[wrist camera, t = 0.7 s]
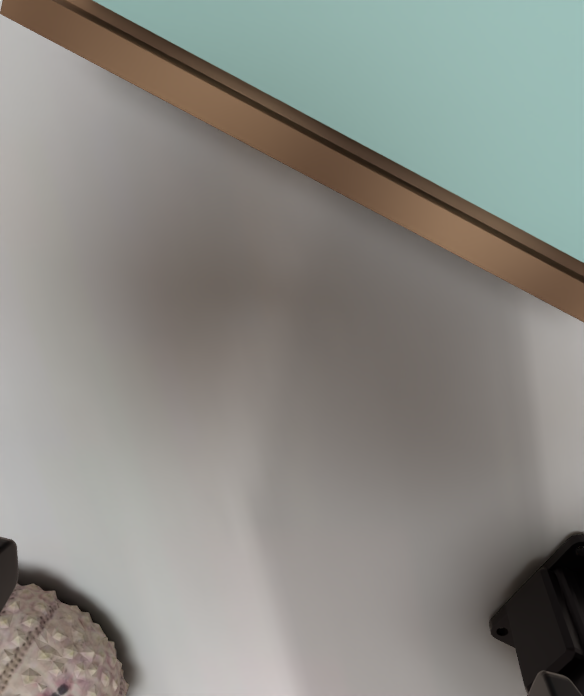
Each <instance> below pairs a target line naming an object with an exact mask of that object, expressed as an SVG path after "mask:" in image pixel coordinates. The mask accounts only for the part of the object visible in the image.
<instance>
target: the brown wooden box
mask: <svg viewBox="0 0 584 696" xmlns="http://www.w3.org/2000/svg"><path fill="white" fill-rule="evenodd" d="M0 14H2V15H3V16H5V17H7V18H9V19H11V20H13V21H15V22H17V23H19V24H20V25H22V26H24V27H26V28H28V29H30V30H32V31H34V32H36V33H37V34H39V35H41V36H43V37H45V38H47V39H49V40H51V41H53V42H55V43H56V44H58V45H60V46H62V47H64V48H66V49H68V50H70V51H72V52H73V53H75V54H77V55H79V56H81V57H83V58H85V59H87V60H89V61H90V62H92V63H94V64H96V65H98V66H100V67H102V68H104V69H106V70H107V71H109V72H111V73H113V74H115V75H117V76H119V77H121V78H123V79H125V80H126V81H128V82H130V83H132V84H134V85H136V86H138V87H140V88H142V89H143V90H145V91H147V92H149V93H151V94H153V95H155V96H157V97H159V98H160V99H162V100H164V101H166V102H168V103H170V104H172V105H174V106H176V107H177V108H179V109H181V110H183V111H185V112H187V113H189V114H191V115H193V116H195V117H196V118H198V119H200V120H202V121H204V122H206V123H208V124H210V125H212V126H213V127H215V128H217V129H219V130H221V131H223V132H225V133H227V134H229V135H230V136H232V137H234V138H236V139H238V140H240V141H242V142H244V143H246V144H247V145H249V146H251V147H253V148H255V149H257V150H259V151H261V152H263V153H265V154H266V155H268V156H270V157H272V158H274V159H276V160H278V161H280V162H282V163H283V164H285V165H287V166H289V167H291V168H293V169H295V170H297V171H299V172H300V173H302V174H304V175H306V176H308V177H310V178H312V179H314V180H316V181H318V182H319V183H321V184H323V185H325V186H327V187H329V188H331V189H333V190H335V191H336V192H338V193H340V194H342V195H344V196H346V197H348V198H350V199H352V200H353V201H355V202H357V203H359V204H361V205H363V206H365V207H367V208H369V209H370V210H372V211H374V212H376V213H378V214H380V215H382V216H384V217H386V218H388V219H389V220H391V221H393V222H395V223H397V224H399V225H401V226H403V227H405V228H406V229H408V230H410V231H412V232H414V233H416V234H418V235H420V236H422V237H423V238H425V239H427V240H429V241H431V242H433V243H435V244H437V245H439V246H440V247H442V248H444V249H446V250H448V251H450V252H452V253H454V254H456V255H458V256H459V257H461V258H463V259H465V260H467V261H469V262H471V263H473V264H475V265H476V266H478V267H480V268H482V269H484V270H486V271H488V272H490V273H492V274H493V275H495V276H497V277H499V278H501V279H503V280H505V281H507V282H509V283H510V284H512V285H514V286H516V287H518V288H520V289H522V290H524V291H526V292H528V293H529V294H531V295H533V296H535V297H537V298H539V299H541V300H543V301H545V302H546V303H548V304H550V305H552V306H554V307H556V308H558V309H560V310H562V311H563V312H565V313H567V314H569V315H571V316H573V317H575V318H577V319H579V320H580V321H582V322H584V263H583V262H581V261H579V260H577V259H576V258H574V257H572V256H570V255H568V254H566V253H564V252H562V251H561V250H559V249H557V248H555V247H553V246H551V245H549V244H548V243H546V242H544V241H542V240H540V239H538V238H536V237H534V236H533V235H531V234H529V233H527V232H525V231H523V230H521V229H519V228H518V227H516V226H514V225H512V224H510V223H508V222H506V221H504V220H503V219H501V218H499V217H497V216H495V215H493V214H491V213H489V212H488V211H486V210H484V209H482V208H480V207H478V206H476V205H475V204H473V203H471V202H469V201H467V200H465V199H463V198H461V197H460V196H458V195H456V194H454V193H452V192H450V191H448V190H446V189H445V188H443V187H441V186H439V185H437V184H435V183H433V182H431V181H430V180H428V179H426V178H424V177H422V176H420V175H418V174H417V173H415V172H413V171H411V170H409V169H407V168H405V167H403V166H402V165H400V164H398V163H396V162H394V161H392V160H390V159H388V158H387V157H385V156H383V155H381V154H379V153H377V152H375V151H373V150H372V149H370V148H368V147H366V146H364V145H362V144H360V143H359V142H357V141H355V140H353V139H351V138H349V137H347V136H345V135H344V134H342V133H340V132H338V131H336V130H334V129H332V128H330V127H329V126H327V125H325V124H323V123H321V122H319V121H317V120H315V119H314V118H312V117H310V116H308V115H306V114H304V113H302V112H301V111H299V110H297V109H295V108H293V107H291V106H289V105H287V104H286V103H284V102H282V101H280V100H278V99H276V98H274V97H272V96H271V95H269V94H267V93H265V92H263V91H261V90H259V89H257V88H256V87H254V86H252V85H250V84H248V83H246V82H244V81H242V80H241V79H239V78H237V77H235V76H233V75H231V74H229V73H228V72H226V71H224V70H222V69H220V68H218V67H216V66H214V65H213V64H211V63H209V62H207V61H205V60H203V59H201V58H199V57H198V56H196V55H194V54H192V53H190V52H188V51H186V50H184V49H183V48H181V47H179V46H177V45H175V44H173V43H171V42H170V41H168V40H166V39H164V38H162V37H160V36H158V35H156V34H155V33H153V32H151V31H149V30H147V29H145V28H143V27H141V26H140V25H138V24H136V23H134V22H132V21H130V20H128V19H126V18H125V17H123V16H121V15H119V14H117V13H115V12H113V11H112V10H110V9H108V8H106V7H104V6H102V5H100V4H98V3H97V2H95V1H93V0H3V2H2V6H1V11H0Z"/></svg>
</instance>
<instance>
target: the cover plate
mask: <svg viewBox="0 0 584 696" xmlns="http://www.w3.org/2000/svg"><path fill="white" fill-rule="evenodd" d="M93 1H95V2H97V3H98V4H100V5H102V6H104V7H106V8H108V9H110V10H112V11H113V12H115V13H117V14H119V15H121V16H123V17H125V18H126V19H128V20H130V21H132V22H134V23H136V24H138V25H140V26H141V27H143V28H145V29H147V30H149V31H151V32H153V33H155V34H156V35H158V36H160V37H162V38H164V39H166V40H168V41H170V42H171V43H173V44H175V45H177V46H179V47H181V48H183V49H184V50H186V51H188V52H190V53H192V54H194V55H196V56H198V57H199V58H201V59H203V60H205V61H207V62H209V63H211V64H213V65H214V66H216V67H218V68H220V69H222V70H224V71H226V72H228V73H229V74H231V75H233V76H235V77H237V78H239V79H241V80H242V81H244V82H246V83H248V84H250V85H252V86H254V87H256V88H257V89H259V90H261V91H263V92H265V93H267V94H269V95H271V96H272V97H274V98H276V99H278V100H280V101H282V102H284V103H286V104H287V105H289V106H291V107H293V108H295V109H297V110H299V111H301V112H302V113H304V114H306V115H308V116H310V117H312V118H314V119H315V120H317V121H319V122H321V123H323V124H325V125H327V126H329V127H330V128H332V129H334V130H336V131H338V132H340V133H342V134H344V135H345V136H347V137H349V138H351V139H353V140H355V141H357V142H359V143H360V144H362V145H364V146H366V147H368V148H370V149H372V150H373V151H375V152H377V153H379V154H381V155H383V156H385V157H387V158H388V159H390V160H392V161H394V162H396V163H398V164H400V165H402V166H403V167H405V168H407V169H409V170H411V171H413V172H415V173H417V174H418V175H420V176H422V177H424V178H426V179H428V180H430V181H431V182H433V183H435V184H437V185H439V186H441V187H443V188H445V189H446V190H448V191H450V192H452V193H454V194H456V195H458V196H460V197H461V198H463V199H465V200H467V201H469V202H471V203H473V204H475V205H476V206H478V207H480V208H482V209H484V210H486V211H488V212H489V213H491V214H493V215H495V216H497V217H499V218H501V219H503V220H504V221H506V222H508V223H510V224H512V225H514V226H516V227H518V228H519V229H521V230H523V231H525V232H527V233H529V234H531V235H533V236H534V237H536V238H538V239H540V240H542V241H544V242H546V243H548V244H549V245H551V246H553V247H555V248H557V249H559V250H561V251H562V252H564V253H566V254H568V255H570V256H572V257H574V258H576V259H577V260H579V261H581V262H583V263H584V0H93Z"/></svg>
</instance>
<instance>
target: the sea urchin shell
mask: <svg viewBox="0 0 584 696" xmlns="http://www.w3.org/2000/svg"><path fill="white" fill-rule="evenodd" d="M121 667H122V663H121V662H120V661H118V660H117V658H116V649H114V642H112V641H108V638H107V637H106V635H105V633H104V632H103V631H102V629H101V627H100V625H99V624H96V623H93V622H92V619H91V617H90V614H89V613H88V612H82V611H81V610H80V609H79V608H78V607H77V606H70V605H67V604H65V603H62V602H61V601H59V600H58V599H57V596H56V592H55V591H43V590H42V589H41V588H40V587H39V586H36V585H35V584H29V585H25V586H21V585H19V584H16V587H15V589H14V591H13V593H12V594H11V596H10V598H9V599H8V601H7V603H6V605H5V606H4V608H3V610H2V611H1V613H0V696H126V693H127V690H128V687H129V684H127V683H126V681H125V680H124V678H123V670H122V669H121Z"/></svg>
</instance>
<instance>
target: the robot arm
mask: <svg viewBox="0 0 584 696" xmlns="http://www.w3.org/2000/svg"><path fill="white" fill-rule="evenodd" d="M581 546H584V535H575V536H572V537H570V538H569V539H568V540H567V541H566V542H565V543H564V544H563V545H562V546H561V547H560V548H559V549H558V550H557V551H556V552H555V553H554V555H553V556H552V557H551V558H550V559H549V560H548V561H547V562H546V563H545V564H544V565H543V566H542V567H541V568H540V569H539V570H538V571H537V572H536V573H535V574H534V575H533V576H532V577H531V578H530V579H529V580H528V581H527V582H526V583H525V584H524V585H523V586H522V587H521V588H520V589H519V590H518V591H517V592H516V593H515V594H514V596H513V597H512V598H511V599H510V600H509V601H508V602H507V603H506V604H505V605H504V606H503V607H502V609H501V610H500V611H499V612H498V613H497V614H496V615H495V616H494V617H493V618H492V619H491V620H490V622H489V627H490V632H491V634H492V636H493V637H495V638H496V639H498V640H500V641H502V642H504V643H506V644H508V645H510V646H512V647H514V648H516V653H517V657H518V661H519V665H520V669H521V673H522V677H523V681H524V685H525V689H526V692H527V694H528V695H527V696H584V548H582V549H577V548H578V547H581ZM18 576H19V571H18V557H17V545H16V543H15V542H14V541H13V540H11V539H7V538H3V537H0V613H1V611H2V610H3V608H4V606H5V605H6V603H7V601H8V599H9V598H10V596H11V594H12V593H13V591H14V589H15V587H16V584H17V581H18Z"/></svg>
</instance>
